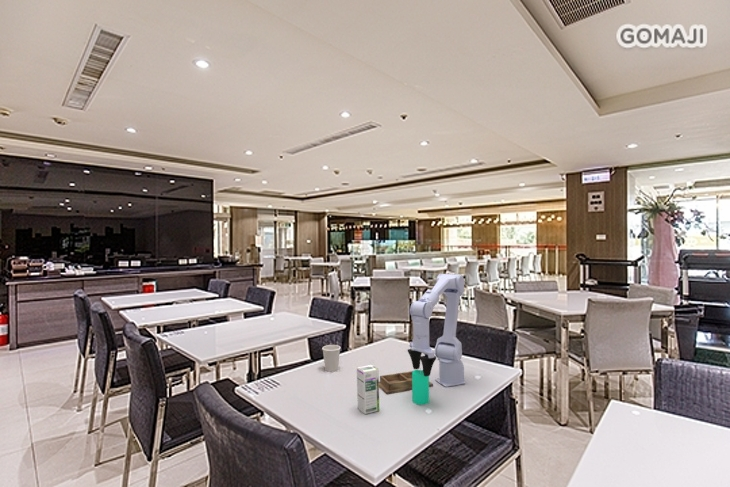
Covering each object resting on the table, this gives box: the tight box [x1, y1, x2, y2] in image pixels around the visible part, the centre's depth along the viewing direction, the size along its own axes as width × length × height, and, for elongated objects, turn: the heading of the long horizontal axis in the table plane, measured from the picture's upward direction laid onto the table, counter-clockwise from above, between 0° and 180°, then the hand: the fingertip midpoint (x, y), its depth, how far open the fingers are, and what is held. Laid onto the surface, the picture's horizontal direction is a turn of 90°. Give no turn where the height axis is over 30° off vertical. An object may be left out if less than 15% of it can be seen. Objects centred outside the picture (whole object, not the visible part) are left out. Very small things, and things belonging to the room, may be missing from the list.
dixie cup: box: [321, 344, 341, 373], centre depth 167 cm, size 8×8×10 cm
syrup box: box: [356, 364, 380, 415], centre depth 127 cm, size 6×6×14 cm
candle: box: [411, 367, 430, 406], centre depth 133 cm, size 6×6×12 cm
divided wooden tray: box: [379, 370, 434, 395], centre depth 148 cm, size 20×10×4 cm, turn 111°
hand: (421, 372), depth 134 cm, fingers open, 7 cm apart
